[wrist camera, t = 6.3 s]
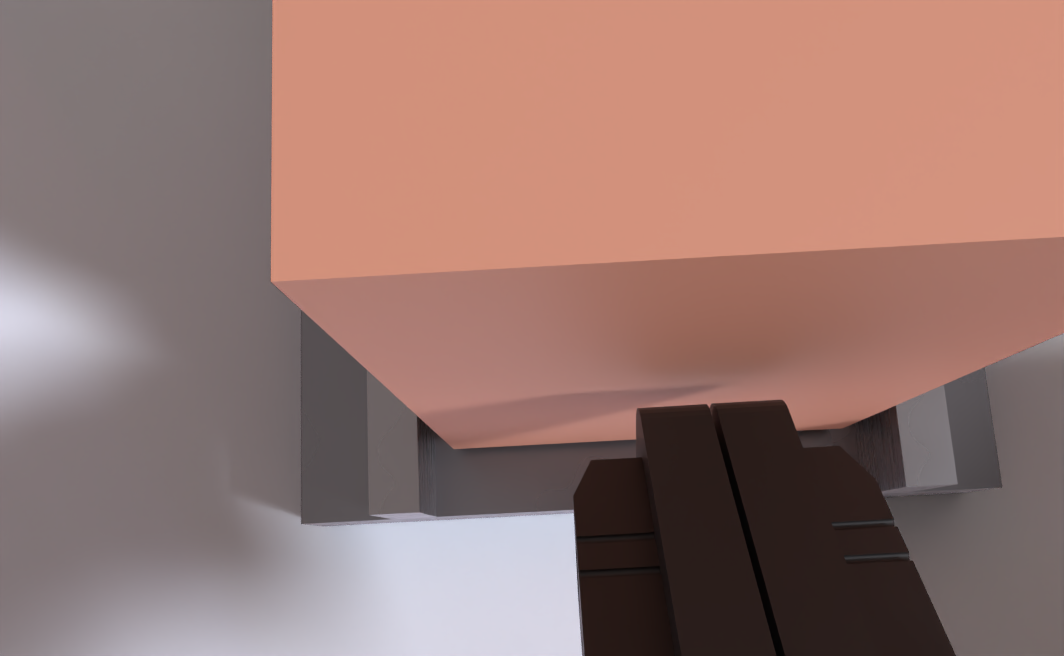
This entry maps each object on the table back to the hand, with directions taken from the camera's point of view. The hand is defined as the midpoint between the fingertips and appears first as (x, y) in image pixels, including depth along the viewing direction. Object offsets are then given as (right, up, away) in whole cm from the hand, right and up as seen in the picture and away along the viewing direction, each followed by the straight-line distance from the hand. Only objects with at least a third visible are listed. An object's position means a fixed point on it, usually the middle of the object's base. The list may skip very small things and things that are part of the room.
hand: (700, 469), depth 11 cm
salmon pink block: (0, +3, +6) cm, 6 cm away
